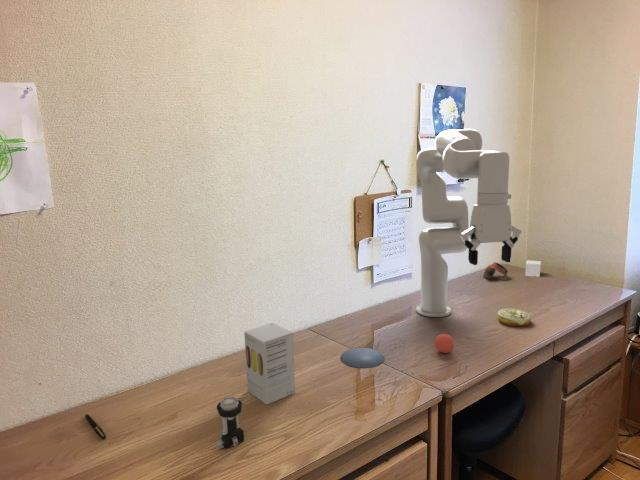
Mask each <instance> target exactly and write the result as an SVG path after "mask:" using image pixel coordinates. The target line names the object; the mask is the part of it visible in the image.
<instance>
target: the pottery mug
mask: <svg viewBox="0 0 640 480" xmlns="http://www.w3.org/2000/svg"><path fill="white" fill-rule="evenodd" d="M496 271H497V272H499V273H501V274H502V275H503V278H502V280H503V281H505V280H506V278H507V276H508V269H507V268H506V267H505V266H503V265H501V264H500V263H498V262H495V261H494V262H493V263H492V264H491V263H490V264H488V266H487V267H486V268H485V270H484V273H483V276H482V278H483V279H485V280H487V279H488V280H489V279H490V280H491V279H493V276H494V274H495V273H496Z"/></svg>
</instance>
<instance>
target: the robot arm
mask: <svg viewBox="0 0 640 480" xmlns="http://www.w3.org/2000/svg"><path fill="white" fill-rule="evenodd" d="M434 140H435V141H434V147H429V148H428V147H427V148H423V149H422V150H420V151H419V152H418V153H417V156H416V162H415V164H416V165H415V166H416V172H417V174H418V178H419V181H420V185H421V206H422V207H421V208H422V209H421V210H422V218H423V220H424V222H425V223H426V224H431V225H432V224H433V225H434V224H435V225H436V224H437V225H438V224H439V225H440V224H452V226H448V227H446V226H443V227H442V226H441V227H440V226H439V227H428V228H425V229H423V230H422V231H421V232H420V233H419V235H418V244H419V253H420V263H421V264H420V304H418V305H417V306H416V308H415V310H416V312H417V313H418V314H419V315H421V316H425V317H429V318H442V317H447V316H449V315H450V314H451V313H452V308H451V307H450V306H448V280H449V279H448V278H449V277H448V276H449V275H448V274H449V273H448V271H449V269H448V268H449V267H448V263H447V261H446V260H445V259H444V258H443V257H442V255H446V254H461V253H463V252H466V251H467V250H468V258H467V259H468V262H469V264H470V265H473V266H477V265H478V263H479V262H478V258H479V256H478V255H479V252H478V250H477V249H478V248H479V246H480V245H481V244H488V243H489V244H490V243H499V242H501V243H502V244H503V245H502V247H501V258H500V259H501V260H502V261H503V262H506V263H511V258H512V249H513V248H514V246H515V244H516V242H518V240H519V237H520V235H521V233H522V230H521V229H519V228H517V227H515V226H513V225H512V214H511V207H510V204H509V203H508V201H509V200H511V199H512V195H511V193H509V175H510V155H509V153H508V152H506V151H497V150H493V149H491V150H486V149H485V150H484V149H482V148H483V147H482V146H483V138H482V135H481V134H480V132H479V131H478V130H477V129H473V128H463V129H447V130H443V131H440V133H439V134H438V135H437V136H436V137H435V139H434ZM439 173H447V174H448V175H449V176H450V177H452V178H454V179H466V180H467V179H477V195H476V196H477V198H476V202H477V203H475V204H473V207H472V212H471V216H470V221H469V207H468V203H467V202H466V200H465V199H464V198H463V197H461V196H447V182H446V181H445V179H444V178H443V177H442V175H441V174H439ZM469 223H470V224H469ZM469 239H470V240H469Z"/></svg>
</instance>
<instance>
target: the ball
mask: <svg viewBox="0 0 640 480" xmlns="http://www.w3.org/2000/svg"><path fill="white" fill-rule="evenodd" d="M434 347H435V348H436V350H437V351H438V352H440V353H442V354H447V353H450V352H452V351H453V349H454V347H455V341H454V339H453V338H452V336H450V335H449V334H446V333H441V334H439V335H438V336H437V337H436V338H435V340H434Z"/></svg>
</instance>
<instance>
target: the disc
mask: <svg viewBox="0 0 640 480" xmlns="http://www.w3.org/2000/svg"><path fill="white" fill-rule="evenodd" d="M340 360H341V362H342V363H343V364H345V365H347V366H350V367H352V368H358V369H367V368H374V367H378V366H379V365H381V364H382V363H384V362H385V355H384V354H383V353H382V352H381V351H379V350H376V349H373V348H369V347H356V348H350V349H348V350H347V349H346V350H345V351H344V352H342V353H341V354H340Z"/></svg>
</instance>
